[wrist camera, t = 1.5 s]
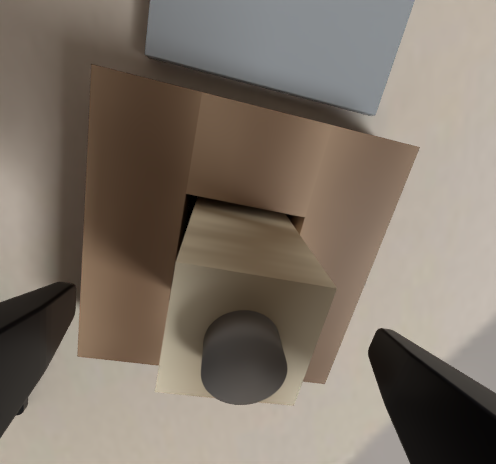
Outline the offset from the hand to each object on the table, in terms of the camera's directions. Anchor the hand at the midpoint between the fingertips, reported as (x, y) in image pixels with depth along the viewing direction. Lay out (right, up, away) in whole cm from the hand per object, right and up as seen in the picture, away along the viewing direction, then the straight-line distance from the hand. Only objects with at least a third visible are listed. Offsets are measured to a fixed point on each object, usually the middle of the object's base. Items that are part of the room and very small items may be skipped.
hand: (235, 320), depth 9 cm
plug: (0, +2, +7) cm, 7 cm away
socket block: (0, +2, +7) cm, 7 cm away
